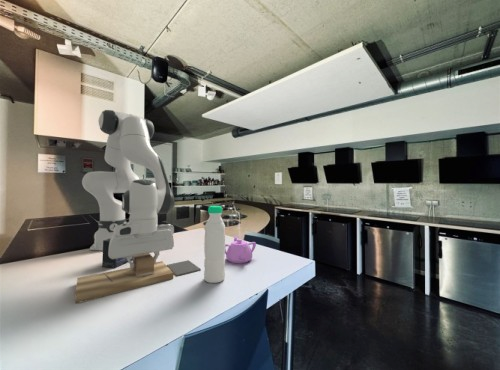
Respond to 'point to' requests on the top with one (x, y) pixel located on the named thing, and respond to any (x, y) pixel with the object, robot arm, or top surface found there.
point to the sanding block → (143, 264)
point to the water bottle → (214, 246)
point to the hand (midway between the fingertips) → (143, 266)
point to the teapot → (239, 251)
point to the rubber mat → (183, 268)
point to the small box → (107, 260)
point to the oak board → (118, 282)
